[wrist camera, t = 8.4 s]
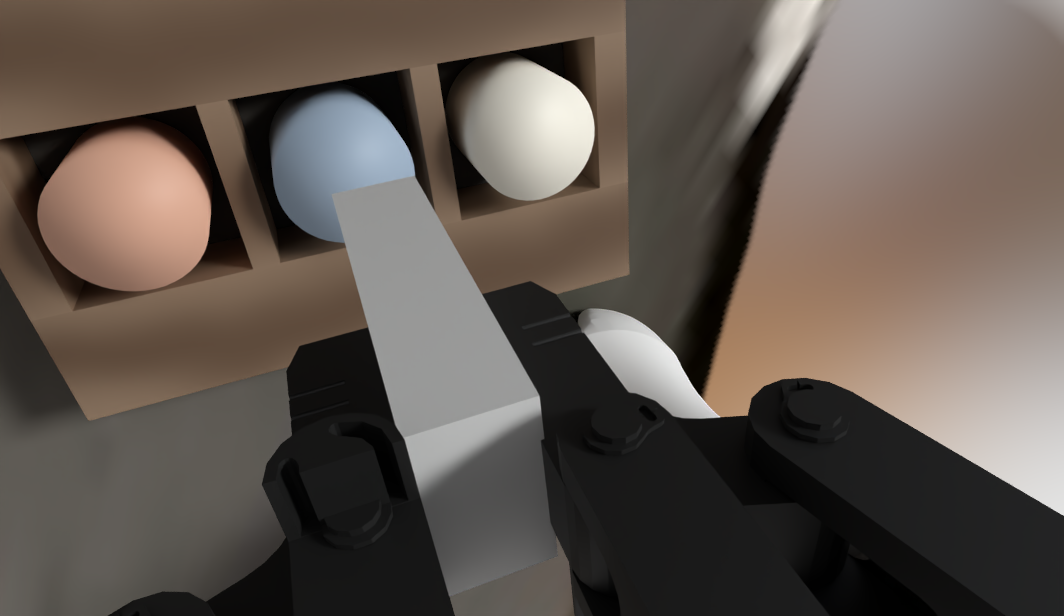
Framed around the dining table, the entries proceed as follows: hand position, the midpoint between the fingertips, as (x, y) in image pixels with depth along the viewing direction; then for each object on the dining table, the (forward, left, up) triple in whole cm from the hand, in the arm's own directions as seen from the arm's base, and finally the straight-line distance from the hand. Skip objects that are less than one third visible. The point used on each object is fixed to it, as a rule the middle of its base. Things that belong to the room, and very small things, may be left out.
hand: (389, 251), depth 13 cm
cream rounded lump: (+2, +7, -14) cm, 15 cm away
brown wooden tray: (+2, 0, -14) cm, 14 cm away
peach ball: (+2, -6, -14) cm, 16 cm away
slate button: (+2, 0, -14) cm, 14 cm away
